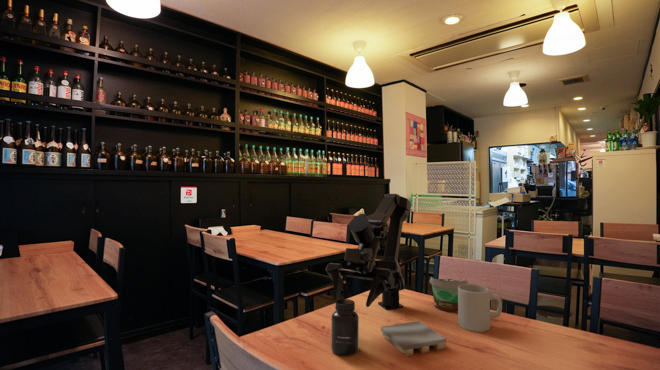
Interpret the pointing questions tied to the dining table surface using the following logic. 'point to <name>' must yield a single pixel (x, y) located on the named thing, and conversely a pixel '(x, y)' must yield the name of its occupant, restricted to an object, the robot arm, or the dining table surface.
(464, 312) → the mug
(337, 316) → the supplement bottle
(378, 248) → the robot arm
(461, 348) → the dining table surface
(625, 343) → the dining table surface
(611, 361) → the dining table surface
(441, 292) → the food container
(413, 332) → the plate
